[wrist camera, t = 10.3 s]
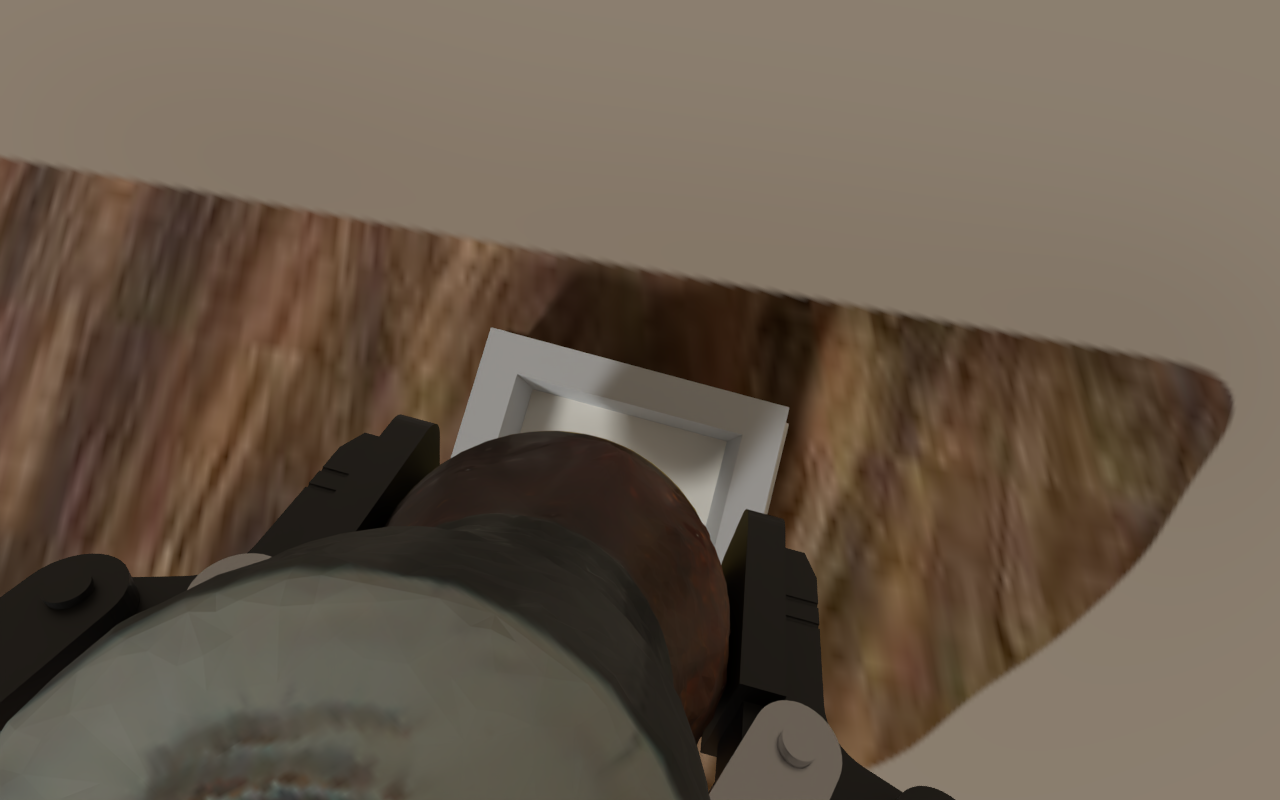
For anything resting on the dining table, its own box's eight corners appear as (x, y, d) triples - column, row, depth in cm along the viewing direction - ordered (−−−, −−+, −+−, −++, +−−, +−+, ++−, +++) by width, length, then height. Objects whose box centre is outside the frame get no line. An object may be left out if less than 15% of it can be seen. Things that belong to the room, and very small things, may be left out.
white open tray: (408, 626, 28) (360, 656, 23) (493, 347, 30) (466, 320, 25) (715, 711, 28) (733, 760, 23) (783, 425, 30) (814, 414, 25)
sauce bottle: (546, 422, 23) (65, 42, 3) (707, 487, 23) (1182, 480, 3) (473, 595, 22) (-746, 1424, 3) (639, 665, 22) (711, 2165, 2)
